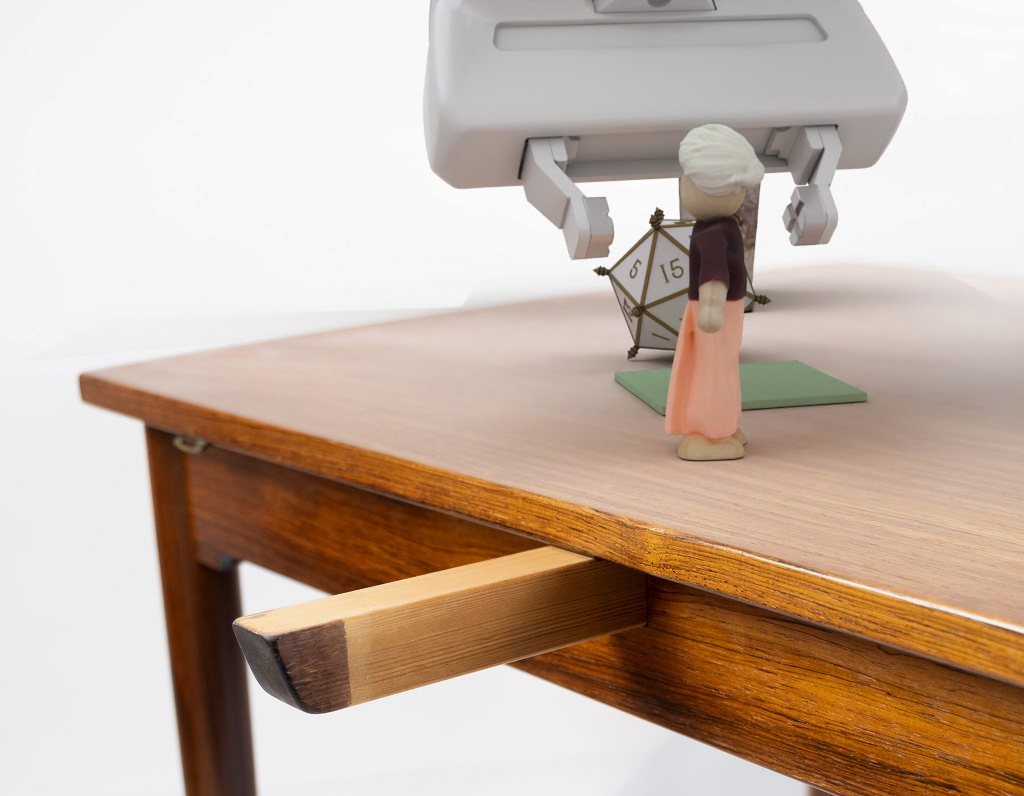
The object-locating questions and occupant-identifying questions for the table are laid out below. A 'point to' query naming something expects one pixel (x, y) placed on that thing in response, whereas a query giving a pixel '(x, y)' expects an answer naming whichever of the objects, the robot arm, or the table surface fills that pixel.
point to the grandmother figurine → (712, 296)
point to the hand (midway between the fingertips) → (706, 242)
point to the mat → (754, 386)
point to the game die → (658, 283)
